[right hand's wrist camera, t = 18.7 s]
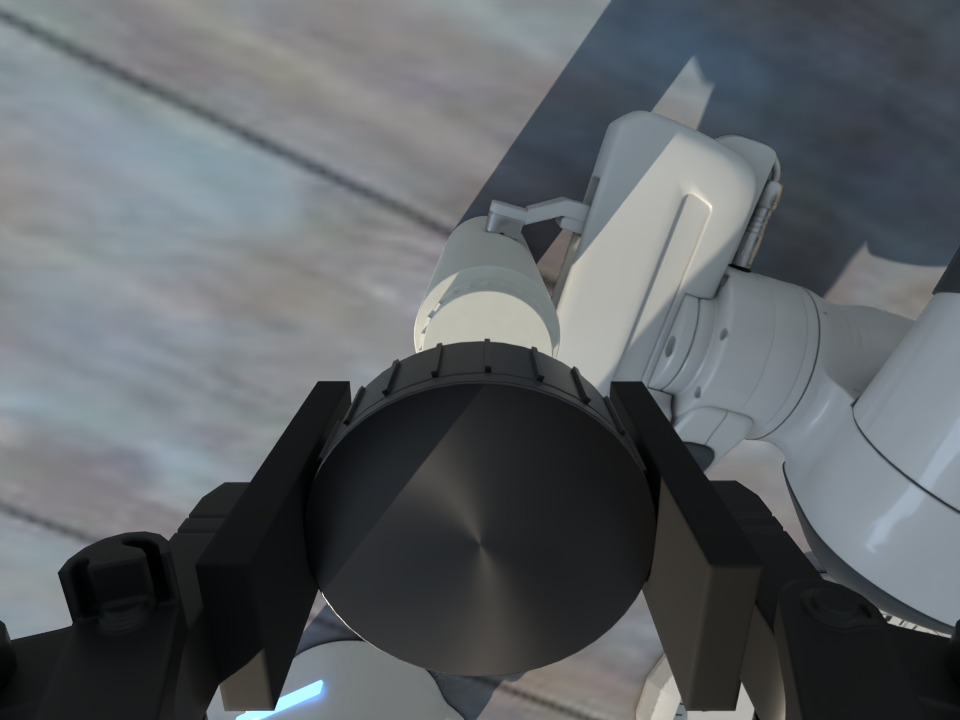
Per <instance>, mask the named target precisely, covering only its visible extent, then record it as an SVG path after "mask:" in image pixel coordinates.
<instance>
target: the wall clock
mask: <svg viewBox="0 0 960 720" xmlns="http://www.w3.org/2000/svg"><path fill="white" fill-rule="evenodd" d="M820 575H821V576H822V578H823V579H825V580H828V581H831V582H834V583H837V582H836V581H835V580H834V579H833V578H832V577H831V576H830V575H829V574H828V573H821V574H820ZM879 611H880V612H881V614H882V615H883V616H884V618H885V619H886V621H887V622H888V623H890V624H893V625H897V626H900V627H904V628H909V629H913V630H917V631H922V632H926V633H931V634H935V635H940V636H944V637H948V638H951V636H952V635H948V634H944V633H940V632H936V631H933V630H930V629H927V628H924V627H921V626H918V625H915V624H913V623H910V622H907V621H905V620H902V619H900V618H897V617H895V616H893V615H890V614H888V613H886V612H884V611H881V610H879ZM753 713H754V707H753V705H752V703H751V701H750V698H749V696H748V694H747V692H746V690H745V688H744V686H743V684H742V682H741V687H740V692H739V697H738V702H737V707H736V711H686V710H685V707H684V704H683V702H682V699H681V696H680V693H679V691H678V688H677V685H676V682H675V679H674V677H673V674H672V671H671V668H670V666H669V663H668V660H667V657H666V654H665V653H664V654H663V656H662V657H661V658H660V660H659V661H658V663H657V664H656V665H655V667H654V668H653V670H652V671H651V672H650V674H649V675H648V677H647V680H646V683H645V686H644V689H643V692H642V695H641V698H640V701H639V704H638V707H637V709H636V720H752V717H753Z"/></svg>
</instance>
